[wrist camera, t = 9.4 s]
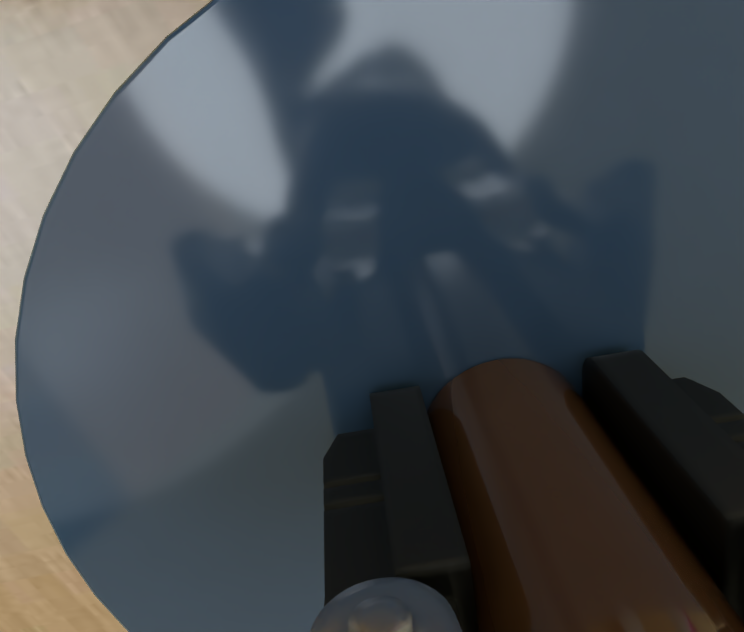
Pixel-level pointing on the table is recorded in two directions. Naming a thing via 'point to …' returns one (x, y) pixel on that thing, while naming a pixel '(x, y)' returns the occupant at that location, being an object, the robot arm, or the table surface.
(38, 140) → the table surface
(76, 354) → the pot lid
